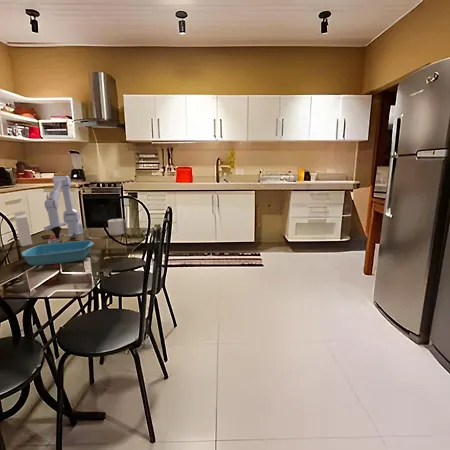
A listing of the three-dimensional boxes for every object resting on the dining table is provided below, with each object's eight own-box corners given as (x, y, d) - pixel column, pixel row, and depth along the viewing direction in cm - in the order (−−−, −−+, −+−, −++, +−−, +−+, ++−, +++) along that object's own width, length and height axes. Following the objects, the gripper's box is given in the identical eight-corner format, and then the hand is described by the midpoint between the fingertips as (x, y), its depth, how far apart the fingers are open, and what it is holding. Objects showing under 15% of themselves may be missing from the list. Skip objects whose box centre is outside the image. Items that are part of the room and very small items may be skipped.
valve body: (72, 237, 223) (71, 232, 222) (78, 237, 221) (77, 232, 220) (47, 245, 205) (46, 239, 205) (52, 245, 203) (51, 240, 202)
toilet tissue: (109, 232, 231) (108, 219, 229) (126, 230, 234) (125, 217, 232) (109, 236, 221) (107, 222, 219) (126, 234, 224) (125, 220, 222)
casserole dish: (15, 269, 162) (12, 256, 160) (33, 256, 183) (31, 244, 182) (90, 262, 168) (88, 249, 166) (99, 250, 189) (97, 238, 188)
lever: (61, 235, 214) (60, 231, 213) (65, 234, 213) (64, 231, 213) (49, 240, 202) (49, 235, 201) (53, 239, 201) (53, 235, 201)
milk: (32, 244, 209) (26, 212, 204) (21, 246, 205) (15, 213, 200) (30, 242, 213) (24, 211, 209) (20, 244, 210) (13, 212, 205)
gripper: (59, 215, 209) (63, 235, 212) (39, 220, 196) (43, 241, 199) (67, 215, 206) (70, 235, 209) (47, 220, 193) (50, 241, 196)
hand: (57, 238), depth 204 cm, fingers closed, pressing on lever
